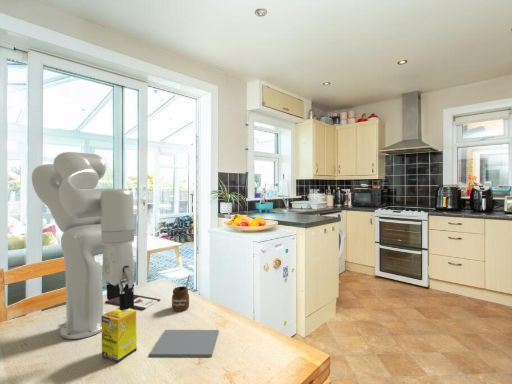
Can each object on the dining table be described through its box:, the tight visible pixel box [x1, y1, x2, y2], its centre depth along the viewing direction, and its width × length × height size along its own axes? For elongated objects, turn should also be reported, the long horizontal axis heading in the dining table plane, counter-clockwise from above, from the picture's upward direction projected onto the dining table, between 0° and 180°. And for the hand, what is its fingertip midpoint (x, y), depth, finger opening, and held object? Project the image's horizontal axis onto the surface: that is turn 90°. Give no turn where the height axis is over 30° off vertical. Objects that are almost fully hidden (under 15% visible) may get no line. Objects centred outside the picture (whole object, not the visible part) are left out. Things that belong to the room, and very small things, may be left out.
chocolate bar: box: [104, 294, 161, 311], centre depth 105 cm, size 9×1×18 cm
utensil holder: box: [171, 274, 191, 313], centre depth 99 cm, size 6×6×12 cm
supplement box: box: [101, 306, 138, 364], centre depth 72 cm, size 6×6×11 cm
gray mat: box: [149, 329, 220, 358], centre depth 77 cm, size 16×12×1 cm
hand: (120, 303), depth 72 cm, fingers open, 9 cm apart
